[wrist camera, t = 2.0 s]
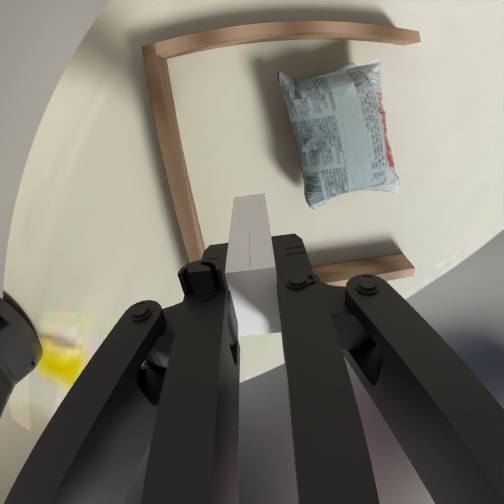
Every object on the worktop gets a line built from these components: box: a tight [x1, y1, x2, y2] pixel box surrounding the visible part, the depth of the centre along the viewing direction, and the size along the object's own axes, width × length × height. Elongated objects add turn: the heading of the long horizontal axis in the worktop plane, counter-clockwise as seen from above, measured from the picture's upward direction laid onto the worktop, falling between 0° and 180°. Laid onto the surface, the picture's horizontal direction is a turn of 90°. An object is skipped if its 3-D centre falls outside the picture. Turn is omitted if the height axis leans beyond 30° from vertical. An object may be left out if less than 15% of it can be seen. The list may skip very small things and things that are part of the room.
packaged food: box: [277, 58, 400, 209], centre depth 21 cm, size 9×12×5 cm
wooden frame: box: [142, 21, 420, 287], centre depth 23 cm, size 22×24×3 cm
